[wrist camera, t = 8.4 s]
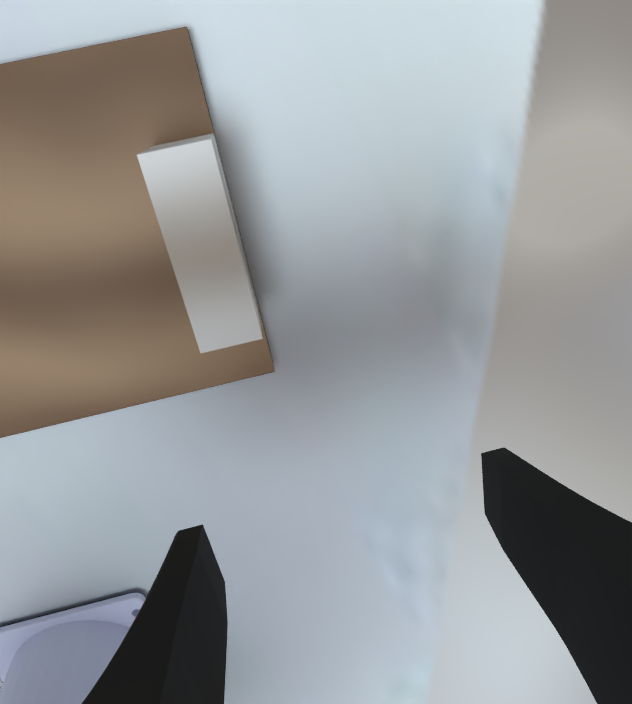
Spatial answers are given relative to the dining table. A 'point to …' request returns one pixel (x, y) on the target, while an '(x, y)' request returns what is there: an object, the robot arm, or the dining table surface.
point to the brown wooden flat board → (116, 236)
